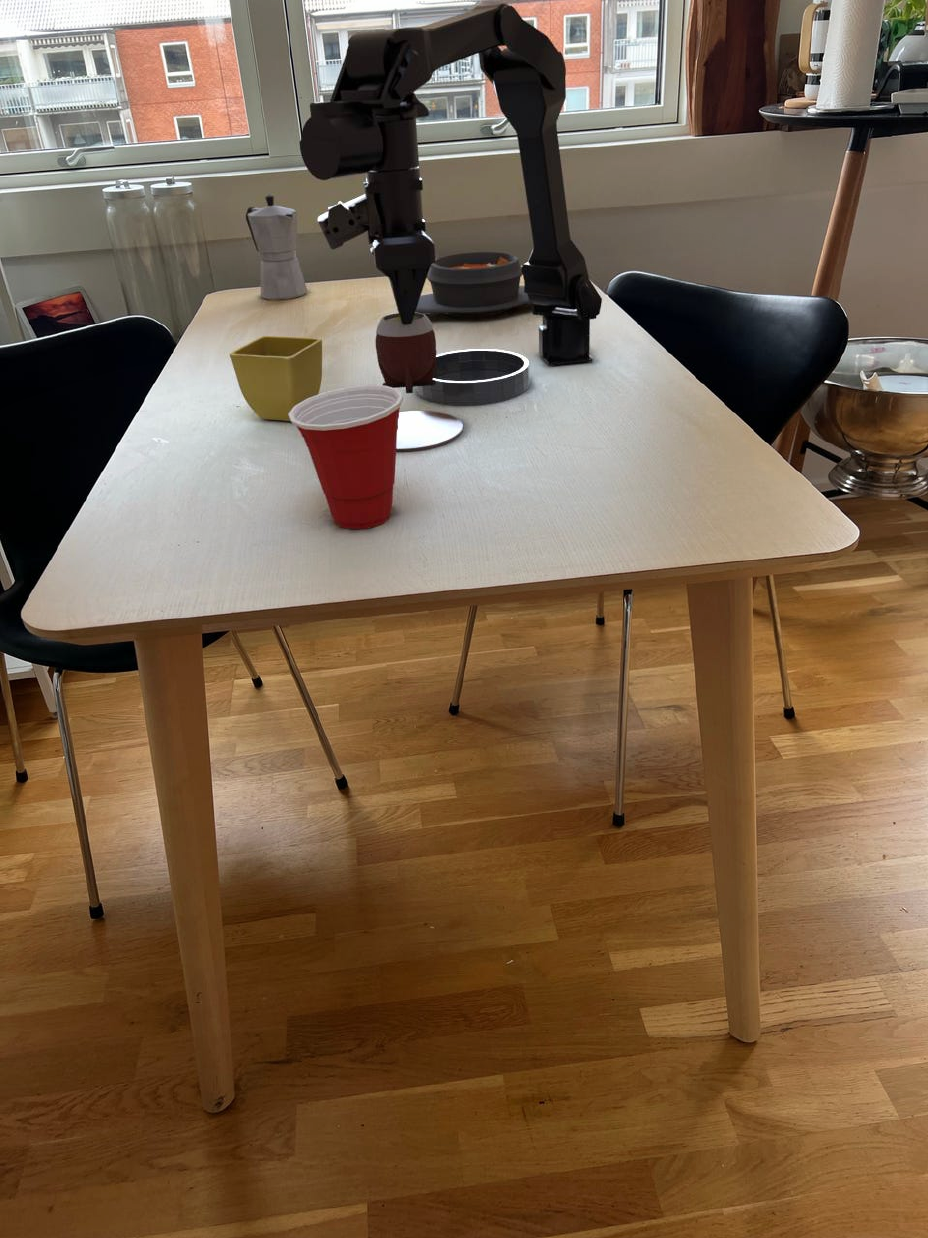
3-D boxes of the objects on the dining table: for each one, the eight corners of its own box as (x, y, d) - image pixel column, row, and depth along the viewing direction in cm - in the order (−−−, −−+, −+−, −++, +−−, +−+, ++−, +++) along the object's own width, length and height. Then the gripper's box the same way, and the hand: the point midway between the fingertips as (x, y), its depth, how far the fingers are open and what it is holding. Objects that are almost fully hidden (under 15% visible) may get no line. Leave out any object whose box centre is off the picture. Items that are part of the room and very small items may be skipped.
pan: (517, 366, 134) (517, 345, 132) (539, 398, 121) (539, 375, 119) (412, 376, 132) (410, 355, 131) (423, 410, 120) (421, 387, 118)
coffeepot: (323, 293, 182) (310, 193, 173) (283, 303, 177) (268, 200, 168) (278, 284, 192) (263, 189, 183) (239, 293, 187) (222, 196, 177)
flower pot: (332, 405, 123) (323, 337, 119) (302, 428, 116) (291, 356, 112) (274, 402, 126) (262, 335, 121) (240, 424, 119) (227, 353, 114)
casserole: (531, 291, 173) (530, 244, 169) (560, 314, 158) (560, 262, 153) (398, 306, 170) (394, 257, 165) (415, 330, 154) (411, 277, 150)
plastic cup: (308, 500, 97) (291, 387, 91) (412, 491, 98) (401, 378, 92) (302, 546, 88) (281, 424, 82) (416, 536, 88) (404, 414, 82)
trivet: (455, 409, 119) (455, 406, 119) (470, 445, 108) (470, 442, 108) (354, 419, 118) (353, 416, 118) (358, 456, 107) (357, 453, 107)
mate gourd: (381, 379, 114) (368, 249, 107) (445, 375, 114) (436, 245, 107) (378, 397, 108) (364, 259, 100) (447, 392, 108) (437, 254, 100)
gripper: (316, 165, 106) (333, 306, 115) (316, 183, 91) (336, 345, 99) (413, 159, 107) (423, 298, 116) (430, 175, 92) (440, 336, 100)
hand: (405, 318), depth 107 cm, fingers closed on mate gourd, 5 cm apart
